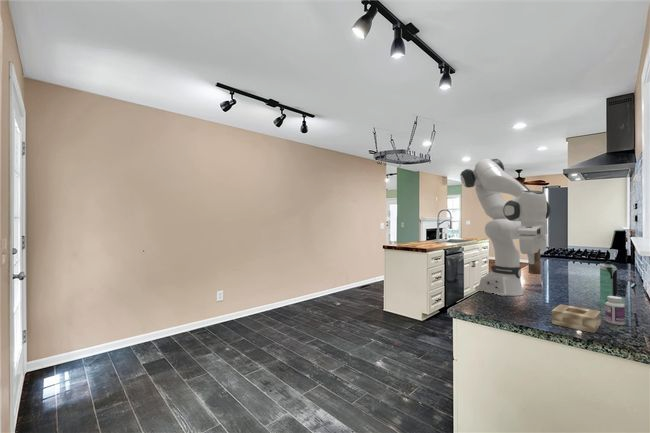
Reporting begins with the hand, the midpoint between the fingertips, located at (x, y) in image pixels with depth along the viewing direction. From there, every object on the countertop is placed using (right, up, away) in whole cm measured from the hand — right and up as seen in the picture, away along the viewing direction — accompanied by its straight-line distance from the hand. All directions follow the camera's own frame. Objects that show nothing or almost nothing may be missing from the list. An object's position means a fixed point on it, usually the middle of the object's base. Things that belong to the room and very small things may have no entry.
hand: (534, 263), depth 122 cm
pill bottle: (+24, -21, -10) cm, 33 cm away
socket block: (+8, -21, -11) cm, 25 cm away
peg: (0, -4, 0) cm, 4 cm away
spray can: (+41, -21, +11) cm, 47 cm away
